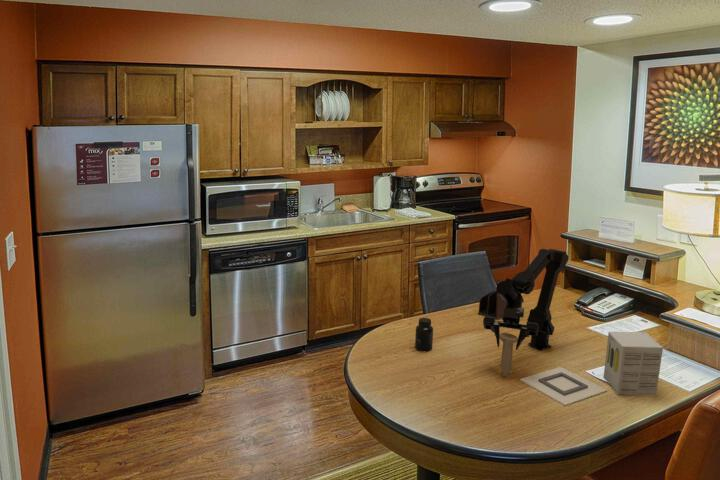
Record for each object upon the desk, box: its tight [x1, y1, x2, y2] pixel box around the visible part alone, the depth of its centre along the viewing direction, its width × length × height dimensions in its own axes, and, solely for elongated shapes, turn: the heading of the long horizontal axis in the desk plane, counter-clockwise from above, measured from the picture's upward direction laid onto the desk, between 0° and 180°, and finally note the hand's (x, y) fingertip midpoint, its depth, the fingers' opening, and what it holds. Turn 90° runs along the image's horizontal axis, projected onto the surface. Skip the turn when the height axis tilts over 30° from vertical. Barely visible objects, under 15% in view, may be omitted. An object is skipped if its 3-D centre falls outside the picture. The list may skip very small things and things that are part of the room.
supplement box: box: [603, 331, 664, 396], centre depth 199 cm, size 13×13×18 cm
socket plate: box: [519, 366, 608, 407], centre depth 200 cm, size 20×20×1 cm
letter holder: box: [478, 290, 522, 321], centre depth 268 cm, size 10×20×14 cm, turn 134°
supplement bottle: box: [414, 317, 434, 352], centre depth 228 cm, size 7×7×12 cm
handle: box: [499, 332, 519, 378], centre depth 206 cm, size 5×6×15 cm
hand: (507, 348), depth 204 cm, fingers closed on handle, 6 cm apart
